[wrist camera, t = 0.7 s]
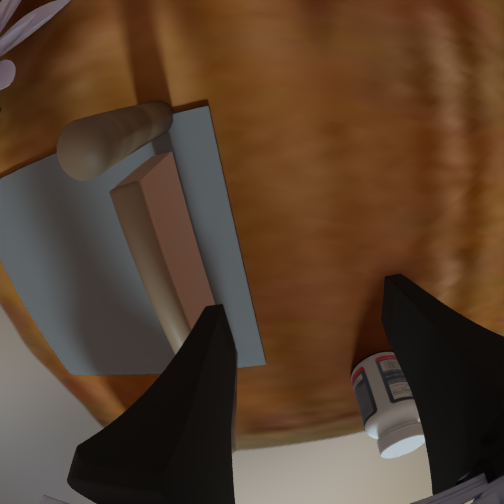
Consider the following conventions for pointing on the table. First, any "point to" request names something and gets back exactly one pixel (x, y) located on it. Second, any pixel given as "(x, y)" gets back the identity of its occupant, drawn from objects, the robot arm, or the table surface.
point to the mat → (118, 256)
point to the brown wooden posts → (117, 153)
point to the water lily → (21, 31)
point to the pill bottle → (387, 405)
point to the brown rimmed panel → (163, 245)
